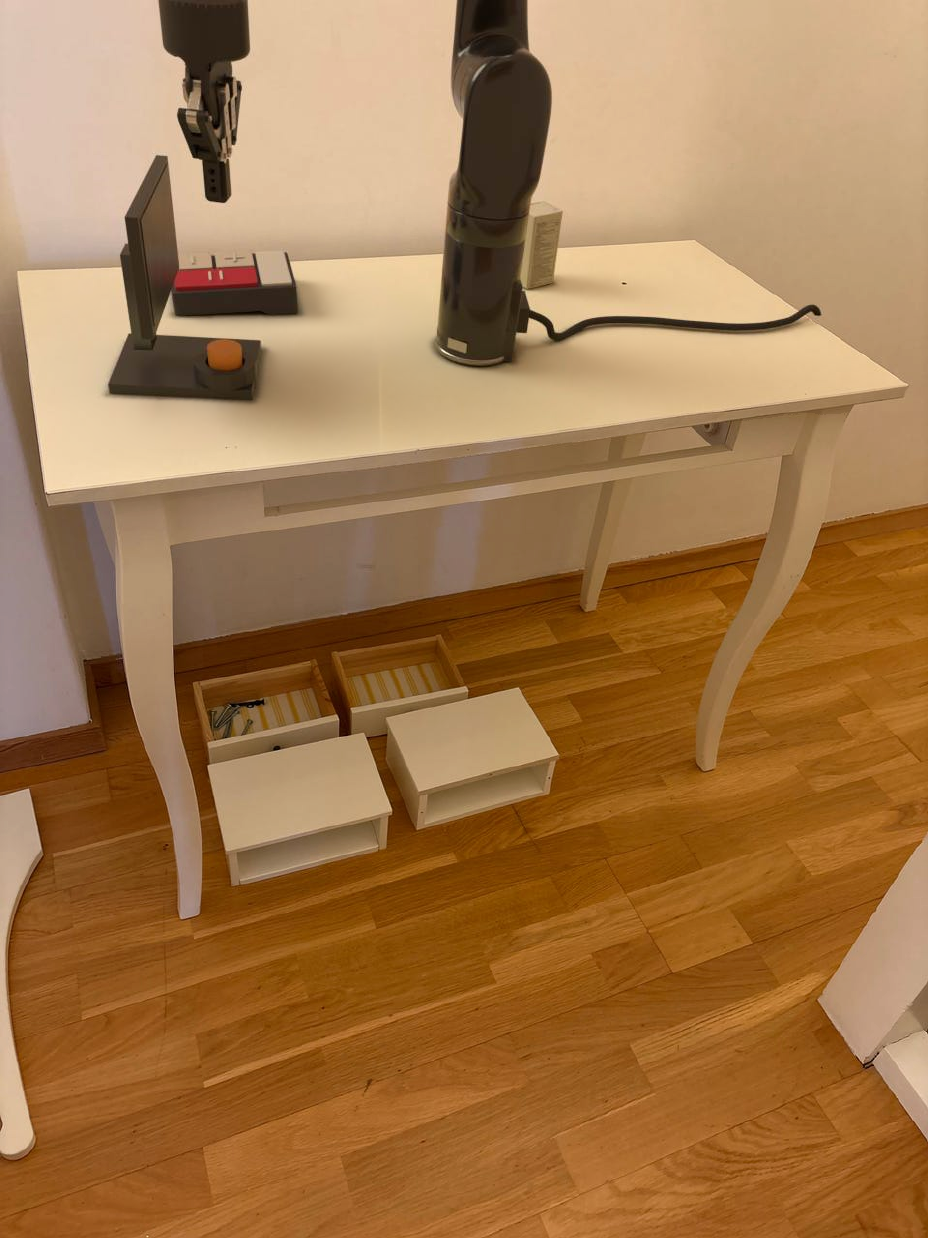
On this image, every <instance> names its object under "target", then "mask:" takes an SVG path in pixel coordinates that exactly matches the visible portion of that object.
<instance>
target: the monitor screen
mask: <svg viewBox="0 0 928 1238" xmlns="http://www.w3.org/2000/svg"><path fill="white" fill-rule="evenodd" d="M169 166H170V165H169V156H168V155H159V154H156V155H155V157H154V159H153V160H152V162H151V164H150V166H149V168H148V170H147V172H146V174H145V176H144V178H143V180H142V182H141V184H140V186H139V188H138V190H137V192H136V193H135V196H134V197H133V199H132V201H131V203H130V205H129V207H128V209H127V212H126V213H125V215H124V223H125V233H126V239H127V244H128V246H129V253H130V260H131V268H132V275H133V282H134V289H135V296H136V304H137V311H138V318H139V325H140V332H141V339H145V340H154V337H155V334H156V335H157V331H158V330H159V329H158V328H159V326H160V323H161V320H162V317H163V315H164V312H165V309H166V306H167V303H168V301H169V298H170V295H171V290H172V287H173V284H174V281H175V278H176V276H177V273H178V270H179V259H178V254H179V251H178V242H177V241H178V240H177V232H176V223H175V213H174V203H173V194H172V184H171V176H170V175H171V174H170V167H169Z"/></svg>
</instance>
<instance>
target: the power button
mask: <svg viewBox="0 0 928 1238" xmlns="http://www.w3.org/2000/svg"><path fill="white" fill-rule="evenodd" d="M227 339H228V338H226V339H221V340H215V341H212V342H210V343H209V344H208V345H207V354H208V364H209V367H211V368H214V369H216V370H227V371H229V370H234V369H238V368H240V367H241V366H242V350H241V345H240V344H239V343H238V342H236V341H233V340H227Z"/></svg>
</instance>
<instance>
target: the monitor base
mask: <svg viewBox="0 0 928 1238" xmlns="http://www.w3.org/2000/svg"><path fill="white" fill-rule="evenodd" d="M156 335H157V339H156V342H155V344H154V347H153V350H134V348H133V342H132V335H131V332H129V333H127V335H126V338H125V341H124V343H123V346H122V349H121V351H120V354H119V357H118V358H117V361H116V364H115V366H114V368H113V371H112V373H111V376H110V379H109V381H108V383H107V386H108V391H109V392H108V393H109V394H110V395H125V396H127V395H129V396H149V397H150V396H151V397H170V398H171V397H172V398H173V397H174V398H191V399H192V398H196V399H213V400H214V399H215V400H216V399H217V400H239V401H253V398H254V394H255V388H256V381H257V376H258V370H259V364H260V359H261V353H262V341H261V340H259V339H244V338H243V339H242V338H227V337H226V338H223V337H207V336H206V337H205V336H186V335H168V334H156ZM221 339H227V340H233V341H236V342H238V343H239V344H240V345H241V350H242V366H241V367H240V368H238V369H234V370H229V371H227V370H216V369H214V368H211V367H209V364H208V354H207V345H208V344H209V343H210V342H212V341H215V340H221Z"/></svg>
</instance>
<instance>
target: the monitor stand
mask: <svg viewBox="0 0 928 1238" xmlns="http://www.w3.org/2000/svg"><path fill="white" fill-rule="evenodd" d="M119 259H120V266H121V273H122V280H123V286H124V287H123V288H124V293H125V300H126V307H127V313H128V320H129V328H130V333H131V335H132V342H133V348H134V350H153V347H154V344H155V342H156V339H157V335H158V334H157V333H156V334H155V337H154V340H145V339H141V332H140V325H139V318H138V311H137V304H136V296H135V289H134V282H133V275H132V268H131V260H130V253H129V246H128V243H124V245H123V247H122V249H121V252H120V254H119Z"/></svg>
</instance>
